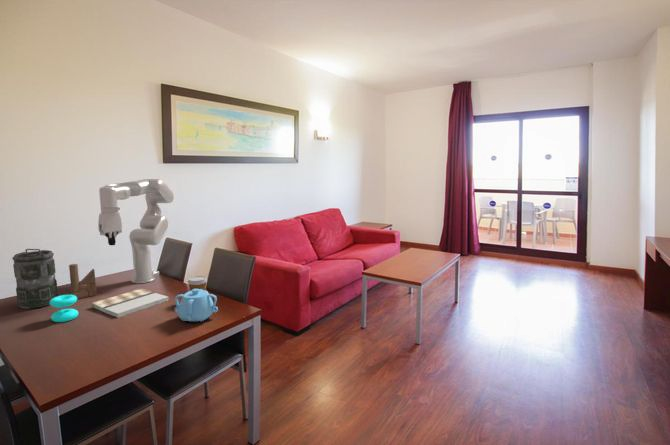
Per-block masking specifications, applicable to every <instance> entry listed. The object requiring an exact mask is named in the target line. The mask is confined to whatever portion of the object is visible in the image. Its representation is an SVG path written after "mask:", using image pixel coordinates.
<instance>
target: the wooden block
mask: <svg viewBox="0 0 670 445" xmlns="http://www.w3.org/2000/svg"><path fill="white" fill-rule="evenodd" d="M78 266H79V265H78V263H72V264H68V269H69V278H70V280H69V281H70V287H71V290H70V291H71V292H70V295H75V296H76V297H77V300H78V299H83V298H88V297H95V296H97V284H96V274H95V271H96V270H95V269H94V268H92V269H91V270H89V272H88V273H87V274H86V275H85V276H84V278H82V279H81V281H80V277H79V268H78ZM82 285H86V288H87V289H81V288H80V287H81V286H82Z"/></svg>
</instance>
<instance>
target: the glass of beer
mask: <svg viewBox="0 0 670 445" xmlns="http://www.w3.org/2000/svg"><path fill="white" fill-rule="evenodd" d="M187 283H188V287H189V291H192V290H193V289H203V290H206V291H207V289H206V288H207V283H208V278H207V276H204V275H195V276H191V277H189V278H188V280H187Z"/></svg>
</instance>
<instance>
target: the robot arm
mask: <svg viewBox="0 0 670 445" xmlns="http://www.w3.org/2000/svg"><path fill="white" fill-rule="evenodd" d="M98 192H99V204H100V213H99V215H98V220H97V221H98V222H97V223H98V226H97V227H98V228H97V230H98V232H99V235H100V236H105V237H106V238H107V244H108V245H109V246H116V238H117V236H118V235H119V234H121V233H123V231H122V229H123V223H122V218H121V215H120V214H121V213H120V212H119V210H120V209H121V208H120V207H118V201H119V200H120V201H121V200H122V201H124V200H127V199H129V198H130V197H139V196H142V195H145V196H144V198H145V202H146V206H147V208H146V211H145V212H144V214H143V216H142V218H141V220H140V222H139V227H140V228H135V229H132V230H131V231H130V232H129V236H128V237H129V242H130V245H131V250H132V251H131V252H132V266H133V278H131V283H132V284H147V283H150V282H153V281H155V280H156V277H155V276H156V275H160V271H159V270H157V271H153V269H152V257H151V256H152V255H151V254H152V253H151V249H150V247H149V246H157V245H160V243H161V241H162V240H163V238H164V236H165V234H166V232H167V229H168V227H169V220H168V218H167V217H166V216H164V215H162V210H161V209H162V208H160V206H159V204H171V203H172V202H173V201H174V198H175V197H174V193H173V191H172V189H171V188H170V187H169V186H168V184H166V183H165V182H164V181H163V180H161V179H159V178H143V179H139V180H138V179H137V180H134V181H133V180H132V181H127V182H118V183H117V182H116V183H112V184H106V185H104V186H102V187H99V191H98Z"/></svg>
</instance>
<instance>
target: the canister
mask: <svg viewBox="0 0 670 445" xmlns="http://www.w3.org/2000/svg"><path fill="white" fill-rule="evenodd" d="M11 258H12V261H13V271H14V272H13V273H14V278H15V283H16V288H15V292H16V300H17V306H18V307H19V308H20V309H23V310H31V309H36V308H41V307H49V306H51V305H50V300H51V299H53V298H55V297H57V296H59V292H58V282H57V279H56V275H55V274H56V265H55V259H54V252H53V251H52V250H46V249H42V250H41V249H40V248H25V251H22V252H20V253H16V254H14V256H12V257H11Z"/></svg>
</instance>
